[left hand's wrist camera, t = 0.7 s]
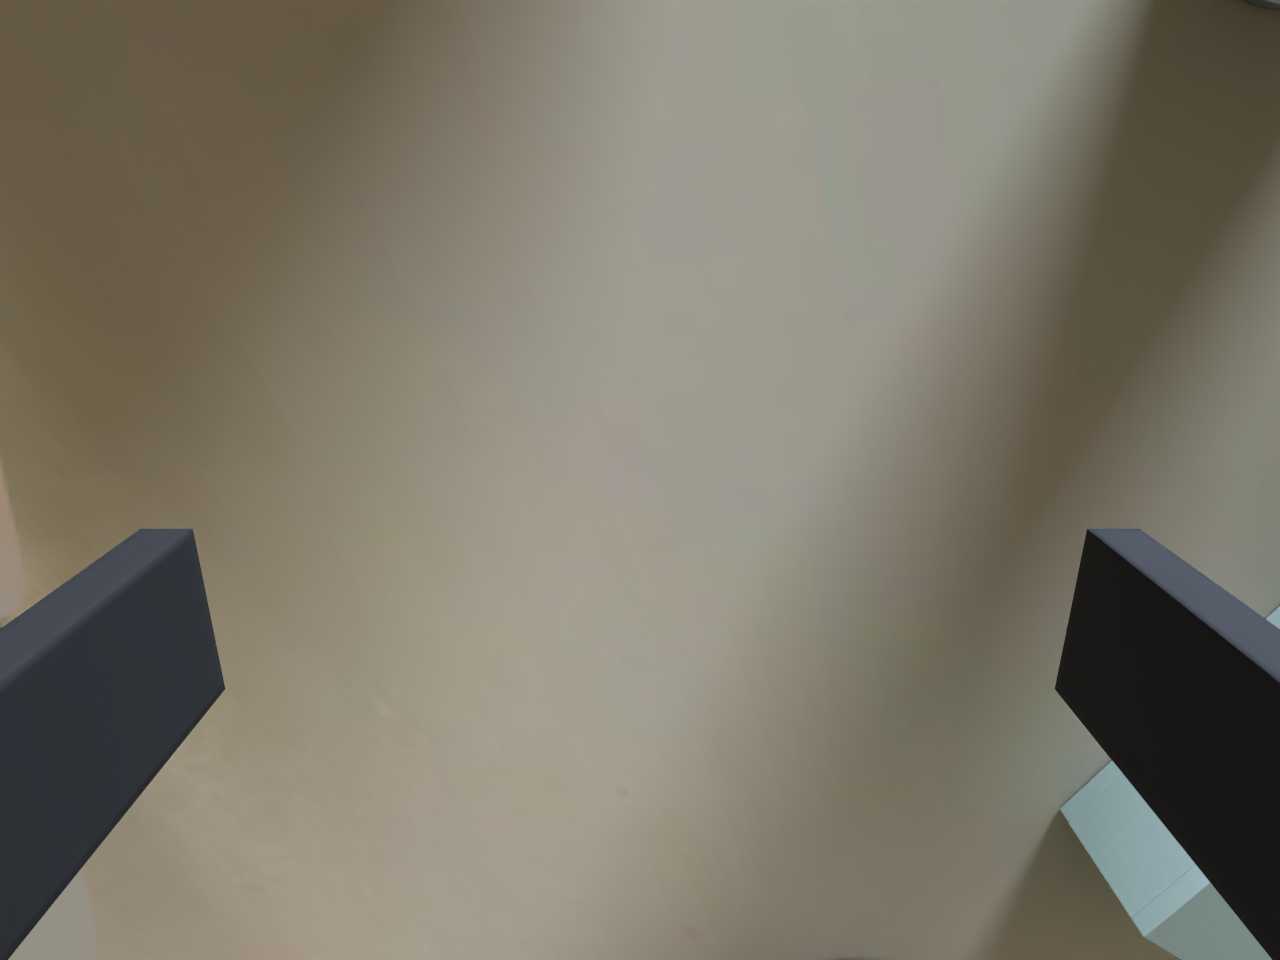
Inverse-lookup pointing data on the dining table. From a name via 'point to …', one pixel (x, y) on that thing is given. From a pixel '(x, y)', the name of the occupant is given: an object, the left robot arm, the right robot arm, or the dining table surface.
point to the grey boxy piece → (1156, 871)
